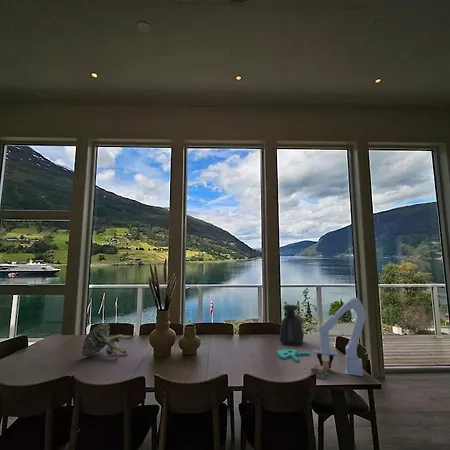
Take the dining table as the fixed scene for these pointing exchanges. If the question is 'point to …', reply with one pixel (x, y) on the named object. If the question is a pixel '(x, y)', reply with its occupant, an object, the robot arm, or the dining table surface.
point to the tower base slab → (319, 375)
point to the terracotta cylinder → (326, 365)
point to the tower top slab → (317, 369)
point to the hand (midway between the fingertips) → (325, 367)
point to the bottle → (291, 327)
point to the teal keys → (291, 354)
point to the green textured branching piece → (102, 341)
